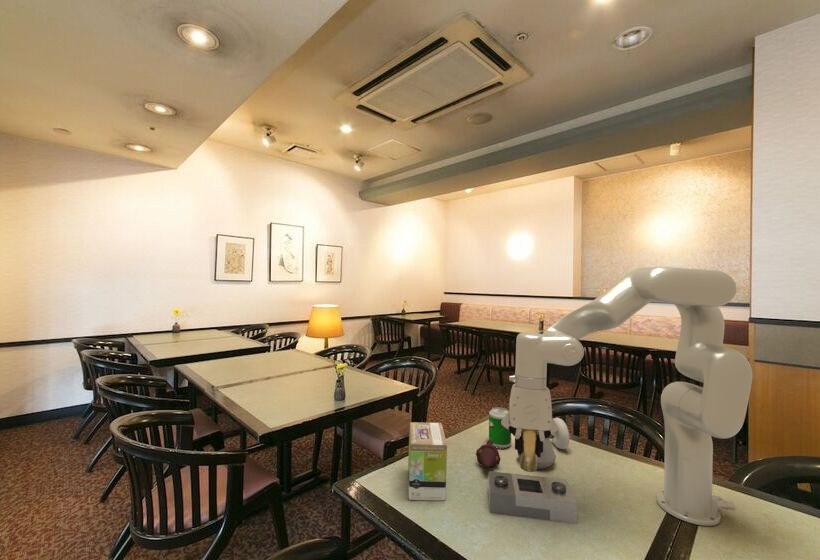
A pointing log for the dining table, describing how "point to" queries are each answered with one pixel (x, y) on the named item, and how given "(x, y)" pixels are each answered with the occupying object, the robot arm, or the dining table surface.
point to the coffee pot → (546, 454)
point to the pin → (528, 450)
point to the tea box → (427, 461)
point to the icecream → (488, 455)
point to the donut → (561, 434)
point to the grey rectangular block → (531, 497)
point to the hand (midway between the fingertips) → (528, 453)
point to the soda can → (499, 428)
